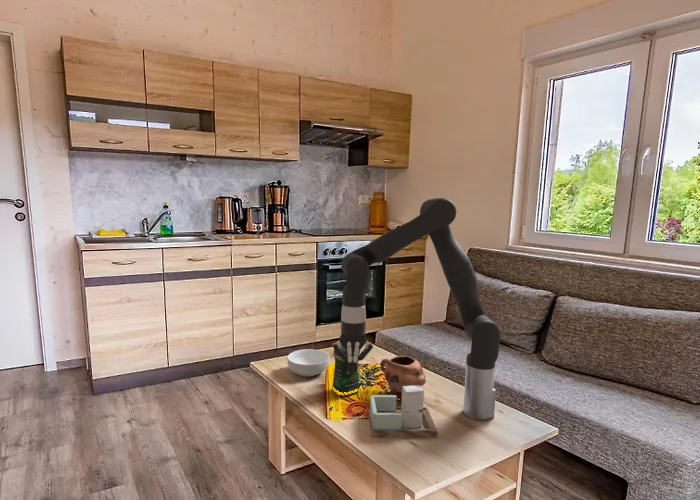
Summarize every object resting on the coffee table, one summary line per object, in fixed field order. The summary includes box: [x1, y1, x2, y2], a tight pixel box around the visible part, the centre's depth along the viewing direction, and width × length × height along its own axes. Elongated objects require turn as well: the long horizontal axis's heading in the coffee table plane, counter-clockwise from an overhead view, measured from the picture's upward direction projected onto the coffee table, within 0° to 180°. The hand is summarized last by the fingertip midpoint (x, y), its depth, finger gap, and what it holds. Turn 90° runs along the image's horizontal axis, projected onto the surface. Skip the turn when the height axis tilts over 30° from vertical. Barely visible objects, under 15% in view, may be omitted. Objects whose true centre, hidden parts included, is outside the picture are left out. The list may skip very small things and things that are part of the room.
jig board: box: [367, 406, 439, 439], centre depth 137 cm, size 20×15×2 cm
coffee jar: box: [332, 344, 360, 393], centre depth 158 cm, size 10×8×19 cm
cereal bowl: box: [287, 348, 330, 378], centre depth 175 cm, size 17×17×7 cm
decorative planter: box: [380, 355, 427, 401], centre depth 156 cm, size 20×12×14 cm, turn 51°
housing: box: [369, 394, 403, 430], centre depth 136 cm, size 9×13×5 cm
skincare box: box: [400, 386, 425, 428], centre depth 136 cm, size 6×4×12 cm
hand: (352, 372), depth 134 cm, fingers closed
